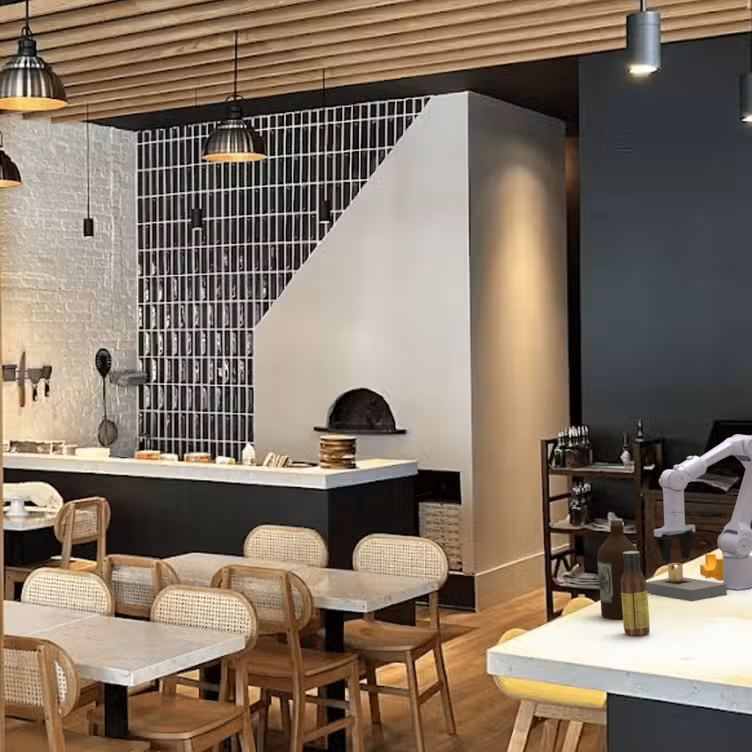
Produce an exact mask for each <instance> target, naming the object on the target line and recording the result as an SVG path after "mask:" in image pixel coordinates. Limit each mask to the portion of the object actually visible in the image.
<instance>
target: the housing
mask: <svg viewBox="0 0 752 752" xmlns="http://www.w3.org/2000/svg"><path fill="white" fill-rule="evenodd" d="M646 588H647V595H648V594H649V595H654V596H661V597H665V596H666V598H671V597H672V599H677V598H678V600H684V601H690V602H694V601H701V600H705V599H711V598H716V597H721V596H722V597H723V596H726V595H728V592H727V591H728V590H727V589H728V588H727V587H726V584H723V582H716V581H709V580H705V579H704V580H703V579H699V578H698V579H696V578H690V577H684V576H683V583H682V584H672V583H669V580H668V577H666V578H661V579H656V580H655V579H653V580H649V581H646Z"/></svg>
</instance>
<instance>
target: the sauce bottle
mask: <svg viewBox="0 0 752 752" xmlns="http://www.w3.org/2000/svg"><path fill="white" fill-rule="evenodd" d="M623 558H624V570H625V571H624V573H623V575H622V577H621V597H622V611H623V620H622V621H623V622H622V623H623V630H624V633H625V634H626V635H627V636H634V637H637V636H640V635H641V637H642V636H646V635H648V634H650V632H651V629H650V626H651V623H650V612H649V601H648V600H649V598H648V593H647V588H646V582H647V580H646V578H645V576H644V574H643V572H642V570H641V561H640V558H641V553H640V551H638V550H637V551H627V552H623Z"/></svg>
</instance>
